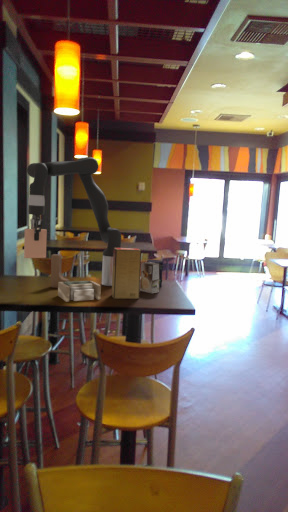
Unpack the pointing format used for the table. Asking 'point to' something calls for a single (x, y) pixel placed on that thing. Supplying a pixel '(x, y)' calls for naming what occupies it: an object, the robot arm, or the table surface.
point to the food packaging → (126, 273)
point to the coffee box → (150, 277)
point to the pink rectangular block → (35, 244)
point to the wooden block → (56, 270)
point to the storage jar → (160, 269)
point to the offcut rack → (79, 290)
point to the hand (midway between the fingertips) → (35, 240)
